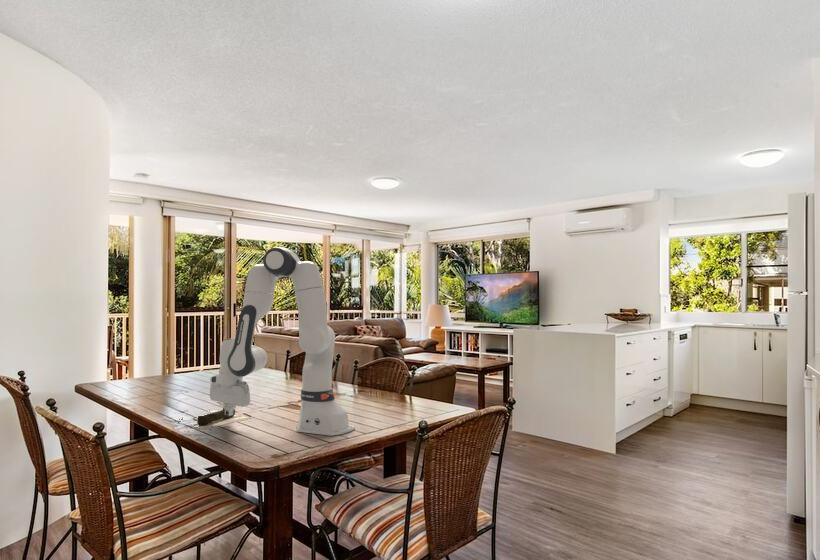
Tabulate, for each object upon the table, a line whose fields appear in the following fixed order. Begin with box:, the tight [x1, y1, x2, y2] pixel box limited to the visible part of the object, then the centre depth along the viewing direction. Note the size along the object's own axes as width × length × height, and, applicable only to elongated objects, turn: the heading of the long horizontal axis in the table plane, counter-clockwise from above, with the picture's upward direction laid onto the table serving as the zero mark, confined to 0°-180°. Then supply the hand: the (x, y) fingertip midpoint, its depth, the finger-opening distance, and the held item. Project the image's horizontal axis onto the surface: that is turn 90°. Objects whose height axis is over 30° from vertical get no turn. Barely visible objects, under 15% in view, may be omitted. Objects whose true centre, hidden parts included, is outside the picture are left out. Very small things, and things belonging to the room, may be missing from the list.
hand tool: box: [197, 407, 236, 426], centre depth 195 cm, size 19×4×5 cm, turn 157°
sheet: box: [179, 409, 252, 430], centre depth 199 cm, size 28×22×1 cm
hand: (228, 414), depth 191 cm, fingers closed
